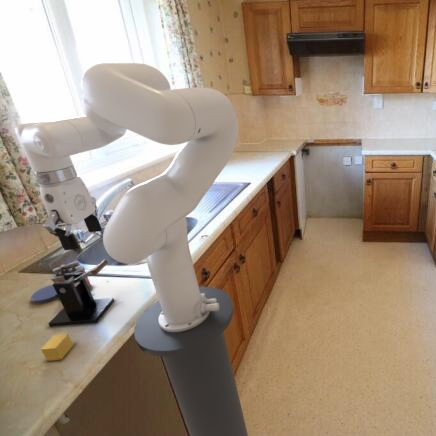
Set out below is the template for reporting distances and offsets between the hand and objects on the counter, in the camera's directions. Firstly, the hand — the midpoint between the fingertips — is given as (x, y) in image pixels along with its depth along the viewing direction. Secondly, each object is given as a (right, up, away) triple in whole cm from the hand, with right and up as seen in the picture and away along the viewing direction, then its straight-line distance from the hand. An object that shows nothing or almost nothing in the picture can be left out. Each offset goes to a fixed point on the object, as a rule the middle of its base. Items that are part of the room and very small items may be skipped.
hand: (84, 239), depth 83 cm
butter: (-1, -26, -6) cm, 27 cm away
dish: (-22, -18, +15) cm, 31 cm away
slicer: (-5, -21, +6) cm, 22 cm away
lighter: (-14, -17, +15) cm, 27 cm away
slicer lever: (-1, -11, +2) cm, 11 cm away
